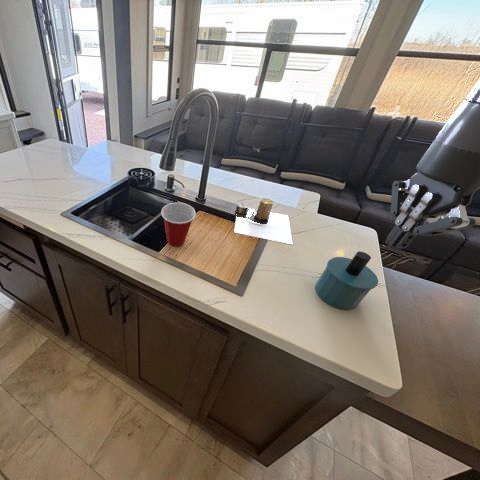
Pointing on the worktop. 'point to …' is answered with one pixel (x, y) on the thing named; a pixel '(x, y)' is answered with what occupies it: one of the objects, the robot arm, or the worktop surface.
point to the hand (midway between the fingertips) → (393, 246)
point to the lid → (353, 271)
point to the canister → (338, 292)
